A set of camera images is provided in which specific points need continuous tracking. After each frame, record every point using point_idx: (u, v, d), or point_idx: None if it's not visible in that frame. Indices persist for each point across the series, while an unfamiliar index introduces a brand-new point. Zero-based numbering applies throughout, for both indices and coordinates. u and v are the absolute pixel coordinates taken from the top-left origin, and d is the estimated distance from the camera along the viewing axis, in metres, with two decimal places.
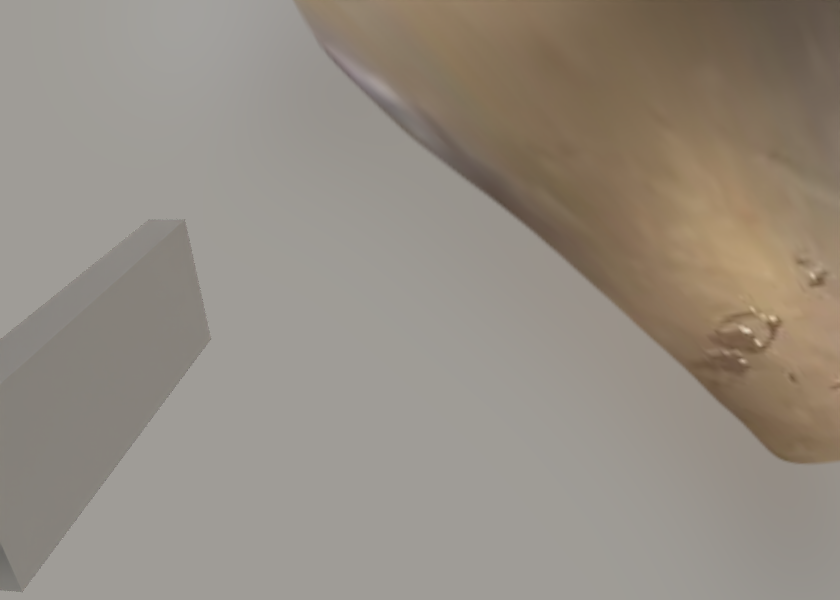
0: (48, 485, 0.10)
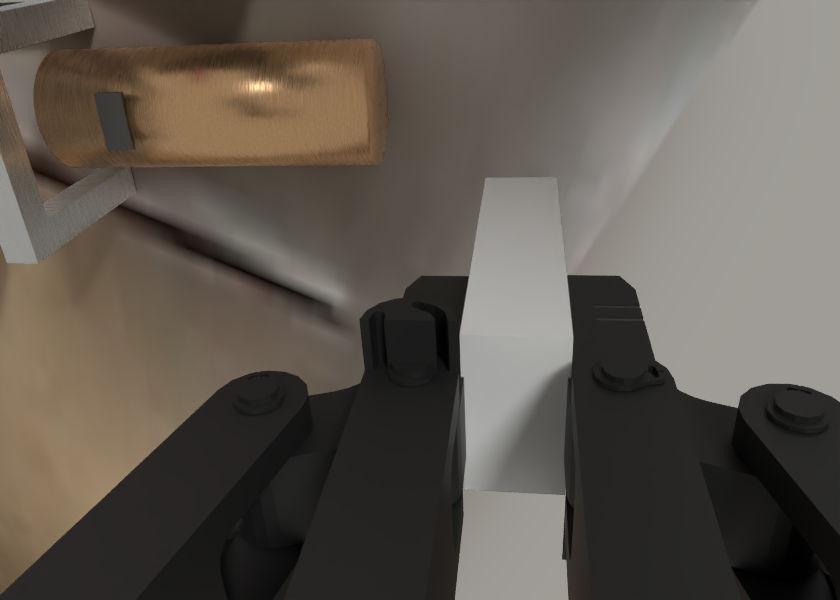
0: None
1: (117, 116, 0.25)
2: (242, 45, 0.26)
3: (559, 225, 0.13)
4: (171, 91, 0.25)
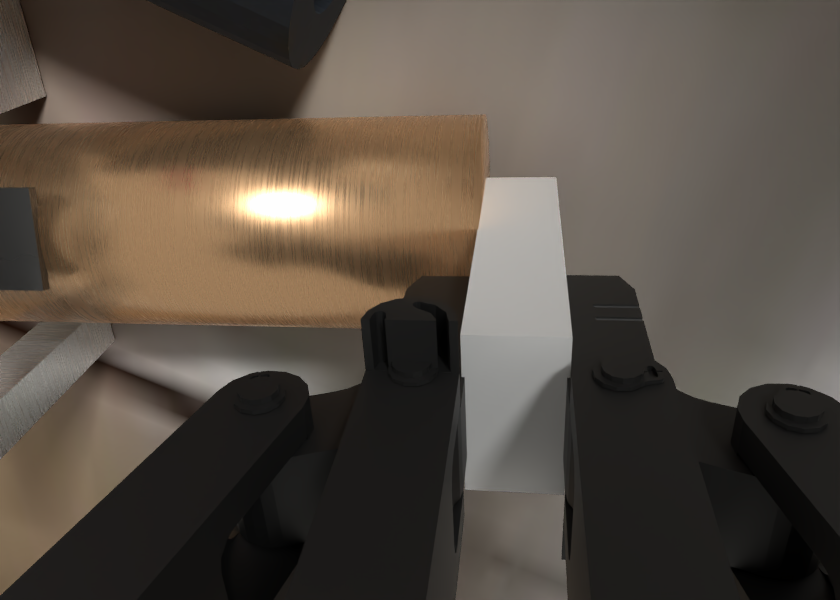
0: None
1: (20, 230, 0.14)
2: (258, 120, 0.15)
3: (558, 225, 0.13)
4: (122, 188, 0.14)
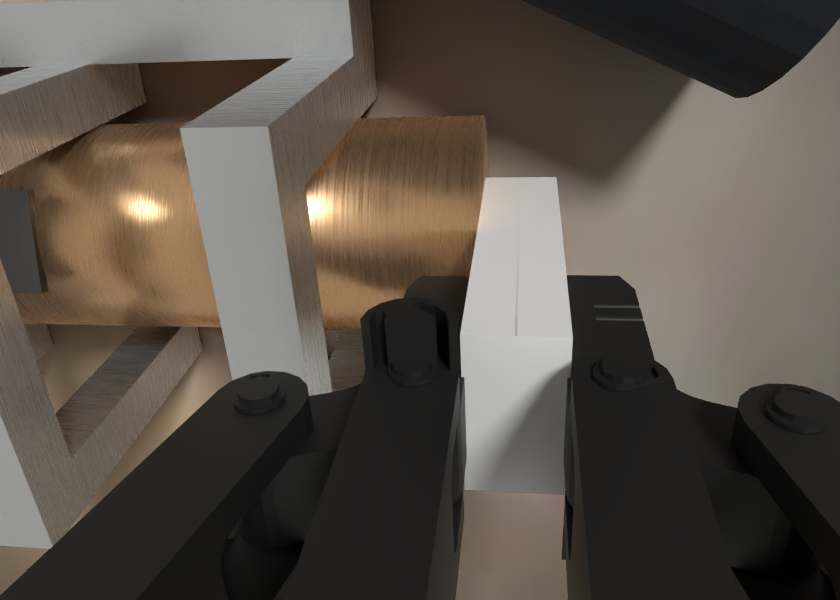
0: None
1: (18, 232, 0.14)
2: None
3: (559, 225, 0.13)
4: (121, 190, 0.14)
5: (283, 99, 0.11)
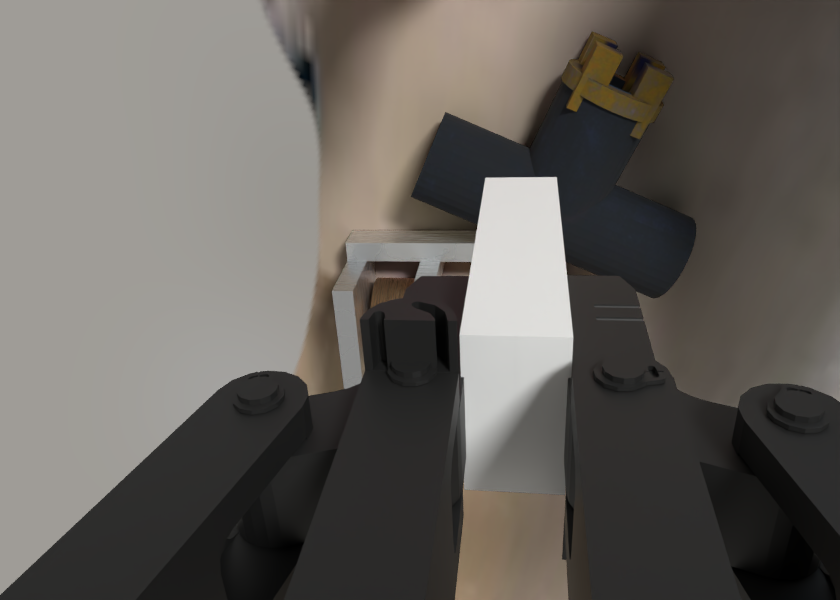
0: None
1: None
2: None
3: (559, 225, 0.13)
4: None
5: None
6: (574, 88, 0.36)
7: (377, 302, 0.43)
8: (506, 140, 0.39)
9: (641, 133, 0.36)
